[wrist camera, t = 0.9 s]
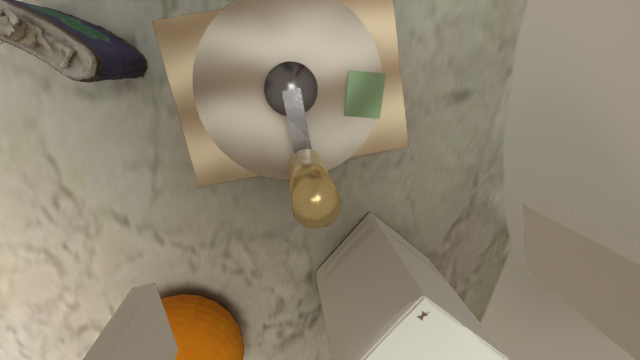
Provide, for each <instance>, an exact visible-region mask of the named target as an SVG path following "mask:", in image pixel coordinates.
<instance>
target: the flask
mask: <svg viewBox="0 0 640 360" xmlns="http://www.w3.org/2000/svg"><path fill="white" fill-rule="evenodd" d="M3 41H4V42H6V43H9V44H11V45H13V46H15V47H18V48H20V49H22V50H24V51H26V52H28V53H30V54H33V55H34V56H36V57H38V58H39V59H41V60H43V61H45V62H47V63H48V64H49V65H51V66H52V67H54V68H55V69H56V70H58V71H59V72H60V73H61V74H63V75H65V76H67V77H68V78H70V79H72V80H75V81H81V82H94V81H101V80H116V79H123V78H138V77H140V76H141V77H144V73H145V72H146V69H147V60H146V59H145V57H144V55H143V54H141V53H140V52H139V51H138V50H137V49H136V48H135V47H134V46H132V45H130V44H129V43H127V42H126V41H125V40H124V39H122V38H119V37H118V36H117V35H115V34H113V33H112V32H110V31H107V30H105V29H104V28H102V27H100V26H96V25H93V24H91V23H89V22H86V21H84V20H81V19H79V18H77V17H74V16H72V15H69V14H65V13H63V12H60V11H57V10H53V9H49V8H45V7H39V6H36V5H32V4H28V3H23V2H19V1H16V0H0V44H2V43H3Z"/></svg>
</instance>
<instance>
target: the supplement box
mask: <svg viewBox="0 0 640 360" xmlns="http://www.w3.org/2000/svg"><path fill="white" fill-rule="evenodd" d="M316 279H317V284H318V290H319V295H320V300H321V306H322V311H323V316H324V322H325V327H326V332H327V338H328V343H329V349H330V354H331V360H509V359H508V358H507V356H506V355H505V354H504V352H503V351H502V350H501V348H500V347H499V346H498V345H497V343H496V342H495V341H494V340H493V338H492V337H491V336H490V335H489V333H488V332H487V331H486V330H485V329H484V327H483V326H482V325H481V323H480V322H479V321H478V320H477V318H476V317H475V316H474V315H473V314H472V312H471V311H470V310H469V309H468V307H467V306H466V305H465V304H464V302H463V301H462V300H461V299H460V297H459V296H458V295H457V294H456V292H455V291H454V290H453V289H452V287H451V286H450V285H449V284H448V282H447V281H446V280H445V279H444V278H443V276H442V275H441V274H440V273H439V271H438V270H437V269H436V268H435V266H434V265H433V264H432V263H431V261H430V260H429V259H428V258H427V257H426V256H425V255H424V254H422V253H421V252H420V251H419V250H418V249H416V248H415V247H414V246H413V245H411V244H410V243H409V242H408V241H406V240H405V239H404V238H403V237H401V236H400V235H399V234H398V233H396V232H395V231H394V230H393V229H391V228H390V227H389V226H388V225H386V224H385V223H384V222H383V221H381V220H380V219H379V218H378V217H376V216H375V215H374V214H373V213H371V212H369V213H368V214H367V216H366V217H365V218H364V219H363V220H362V221H361V222H360V223H359V224H358V226H357V227H356V228H355V229H354V230H353V231H352V232H351V233H350V234H349V236H348V237H347V238H346V239H345V240H344V241H343V242H342V243H341V244H340V246H339V247H338V248H337V249H336V250H335V251H334V252H333V253H332V254H331V256H330V257H329V258H328V259H327V260H326V261H325V262H324V263H323V264H322V266H321V267H320V268H319V269H318V270H317V271H316Z"/></svg>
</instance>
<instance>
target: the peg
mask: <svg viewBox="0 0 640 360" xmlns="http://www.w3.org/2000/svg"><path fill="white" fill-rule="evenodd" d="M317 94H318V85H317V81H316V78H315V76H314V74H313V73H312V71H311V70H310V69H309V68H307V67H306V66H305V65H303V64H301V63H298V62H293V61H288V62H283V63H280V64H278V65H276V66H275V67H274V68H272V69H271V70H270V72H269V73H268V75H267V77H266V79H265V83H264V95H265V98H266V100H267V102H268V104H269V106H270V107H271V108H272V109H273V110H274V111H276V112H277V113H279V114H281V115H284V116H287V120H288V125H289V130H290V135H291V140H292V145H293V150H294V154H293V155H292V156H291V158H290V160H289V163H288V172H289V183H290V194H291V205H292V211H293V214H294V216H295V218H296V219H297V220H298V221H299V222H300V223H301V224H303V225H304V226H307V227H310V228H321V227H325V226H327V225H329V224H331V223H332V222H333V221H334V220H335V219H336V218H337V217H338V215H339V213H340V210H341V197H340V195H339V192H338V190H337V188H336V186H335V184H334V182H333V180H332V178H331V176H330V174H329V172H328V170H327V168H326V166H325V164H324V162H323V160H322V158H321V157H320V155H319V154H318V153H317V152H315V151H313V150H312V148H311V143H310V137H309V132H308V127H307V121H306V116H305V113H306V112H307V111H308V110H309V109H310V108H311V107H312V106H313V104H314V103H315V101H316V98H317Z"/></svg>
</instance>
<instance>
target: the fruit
mask: <svg viewBox="0 0 640 360" xmlns="http://www.w3.org/2000/svg"><path fill="white" fill-rule="evenodd" d="M161 301H162V304H163V307H164V310H165V313H166V315H167V318H168V321H169V324H170V327H171V330H172V333H173V336H174V338H175V341H176V344H177V347H178V352H177V354H176V357H175V360H243V355H244V344H243V340H242V336H241V332H240V328H239V326H238V324H237V323H236V321H235V320H234V318H233V317H232V316H231V314H230V313H229V312H228V311H227V310H226V309H225V308H223V307H222V306H221V305H219V304H218V303H217V302H215V301H213V300H210V299H207V298H205V297H202V296H198V295H186V294H181V295H175V296H170V297H165V298H162V299H161Z"/></svg>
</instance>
